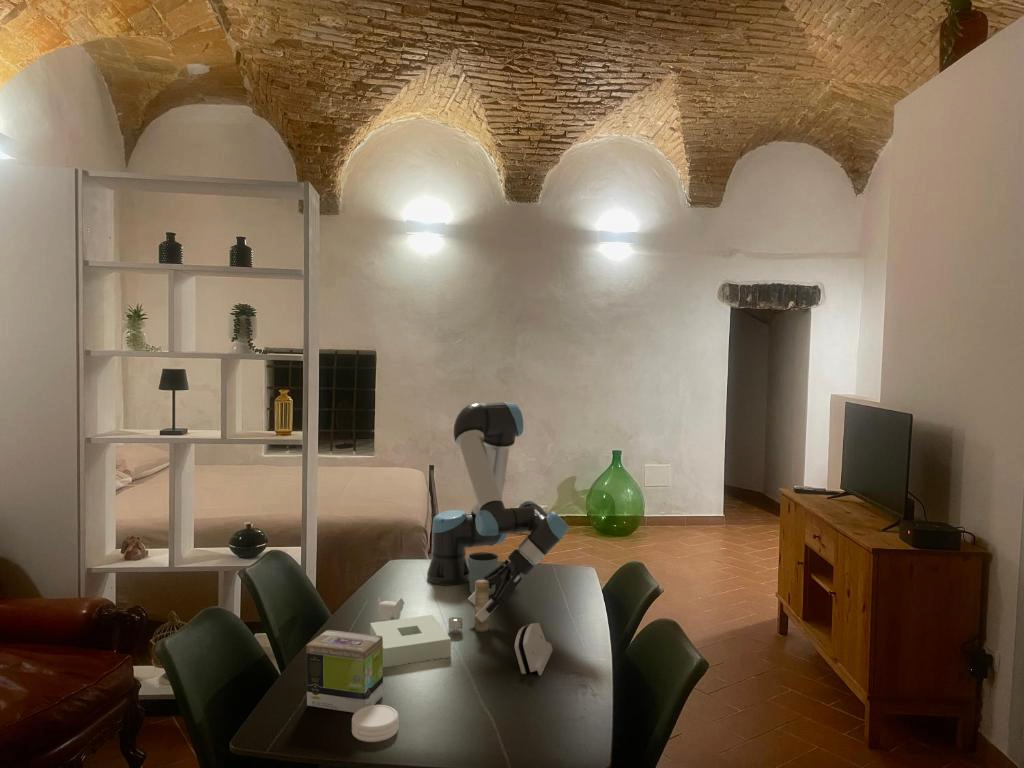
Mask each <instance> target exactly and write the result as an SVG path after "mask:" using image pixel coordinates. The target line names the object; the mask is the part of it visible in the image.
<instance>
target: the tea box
mask: <svg viewBox="0 0 1024 768" xmlns="http://www.w3.org/2000/svg"><path fill="white" fill-rule="evenodd" d="M305 649H306V652H305V653H306V656H305V657H306V658H305V659H306V705H307V706H308V707H316V708H322V709H328V710H333V711H339V712H340V711H341V712H348V713H352V714H354V713H355V712H357V711H358V710H359V709H361V708H364V707H367V706H371V705H376V704H377V703H378V701H380V700H381V698H382V697H383V692H384V667H383V638H382V636H377V635H370V634H368V633H367V634H365V633H357V632H350V631H349V632H348V631H341V630H331V629H327V630H325V631H324V632H323V633H321V634H319V635H318V636H317V637H315V638H314V639H313V640H312V641H310V642H308V643H307V644H306V648H305Z"/></svg>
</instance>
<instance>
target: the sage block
mask: <svg viewBox="0 0 1024 768" xmlns="http://www.w3.org/2000/svg"><path fill="white" fill-rule="evenodd" d="M369 626H370V627H369V635H377V636H382V638H383V668H389V667H396V666H403V664H404V665H409V664H408V663H410V664H415V663H414V662H416V663H421V662H420V661H423V662H427V661H426V660H429V661H435V660H434V659H436V660H440V659H439V658H442V659H447V658H446V657H449V658H451V657H452V639H451V637H450V635H449V633H447V632H446V630H445V629H444V628H443V627H442V625H441V624H440V622H439V621H438V619H437V618H436V617H435V616H434V614H428V615H419V616H414V617H405V618H399V619H397V620H391V619H390V620H389V621H382V622H381V621H376V622H370V624H369Z"/></svg>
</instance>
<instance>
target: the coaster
mask: <svg viewBox="0 0 1024 768" xmlns="http://www.w3.org/2000/svg"><path fill="white" fill-rule="evenodd" d="M399 716H400V715H399V712H398V711H397V709H395V708H393V707H392V706H389V705H386V704H385V705H384V704H375V705H371V706H367V707H364V708H361V709H359V710H358V711H357V712H355V713H353V715H352V717H351V734H352V736H353V737H354V738H355V739H356V740H358V741H362V742H366V743H377V742H383V741H386V740H388V739H391V738H392V737H393V736H395V735H396V734H397V733H398V730H399V725H400V724H399Z"/></svg>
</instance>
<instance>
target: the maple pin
mask: <svg viewBox="0 0 1024 768" xmlns="http://www.w3.org/2000/svg"><path fill="white" fill-rule="evenodd" d="M489 600H490V595H489V581H487V580H477V581H476V582H475V605H474V631H476V632H480V633H484V632H487V631H489V622H490V621H489V617H490V615H489V616H488V617H487V618H486V619H485V620H484V621H483V622H481V621H480V620H479V619H478V618H477V617H476V616H475V615H476V614H477V613H478V612H479V611H480V610H481V609H482V608H483V607H484V606H485V605H486V603H487V602H488V601H489Z"/></svg>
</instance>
